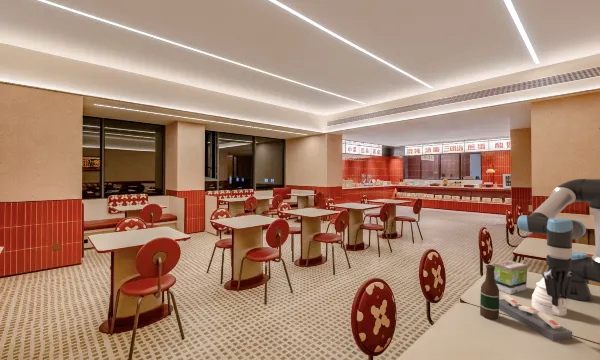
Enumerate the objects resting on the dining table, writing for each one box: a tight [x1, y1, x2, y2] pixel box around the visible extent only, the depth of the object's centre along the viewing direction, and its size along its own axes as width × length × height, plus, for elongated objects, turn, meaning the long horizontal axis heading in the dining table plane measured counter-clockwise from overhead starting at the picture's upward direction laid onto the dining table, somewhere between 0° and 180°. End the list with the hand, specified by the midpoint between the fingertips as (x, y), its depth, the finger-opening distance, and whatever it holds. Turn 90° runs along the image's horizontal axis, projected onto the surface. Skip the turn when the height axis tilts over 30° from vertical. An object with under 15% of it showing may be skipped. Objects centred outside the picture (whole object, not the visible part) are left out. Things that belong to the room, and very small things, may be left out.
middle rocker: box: [518, 305, 540, 314], centre depth 127 cm, size 7×3×1 cm, turn 9°
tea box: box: [493, 259, 528, 295], centre depth 160 cm, size 15×10×15 cm
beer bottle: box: [479, 264, 500, 321], centre depth 131 cm, size 8×8×24 cm
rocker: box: [501, 293, 521, 307], centre depth 136 cm, size 7×3×1 cm, turn 9°
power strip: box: [499, 298, 573, 342], centre depth 127 cm, size 29×9×4 cm, turn 9°
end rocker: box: [537, 312, 562, 329], centre depth 118 cm, size 7×3×1 cm, turn 9°
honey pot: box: [531, 271, 568, 317], centre depth 137 cm, size 13×13×18 cm
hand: (557, 312), depth 115 cm, fingers closed
